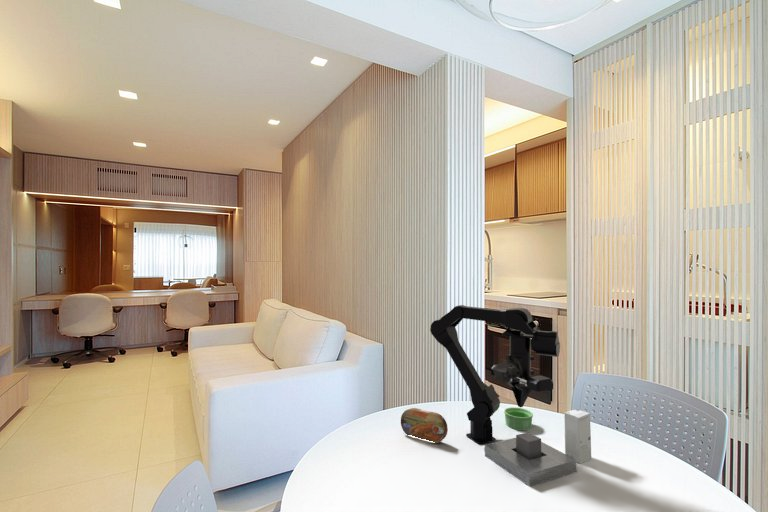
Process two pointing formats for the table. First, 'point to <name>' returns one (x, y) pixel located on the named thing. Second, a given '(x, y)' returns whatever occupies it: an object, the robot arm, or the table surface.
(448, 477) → the table surface
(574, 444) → the skincare box
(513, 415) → the ramekin
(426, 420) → the tin
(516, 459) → the square hole plate
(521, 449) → the tall grey square pillar
